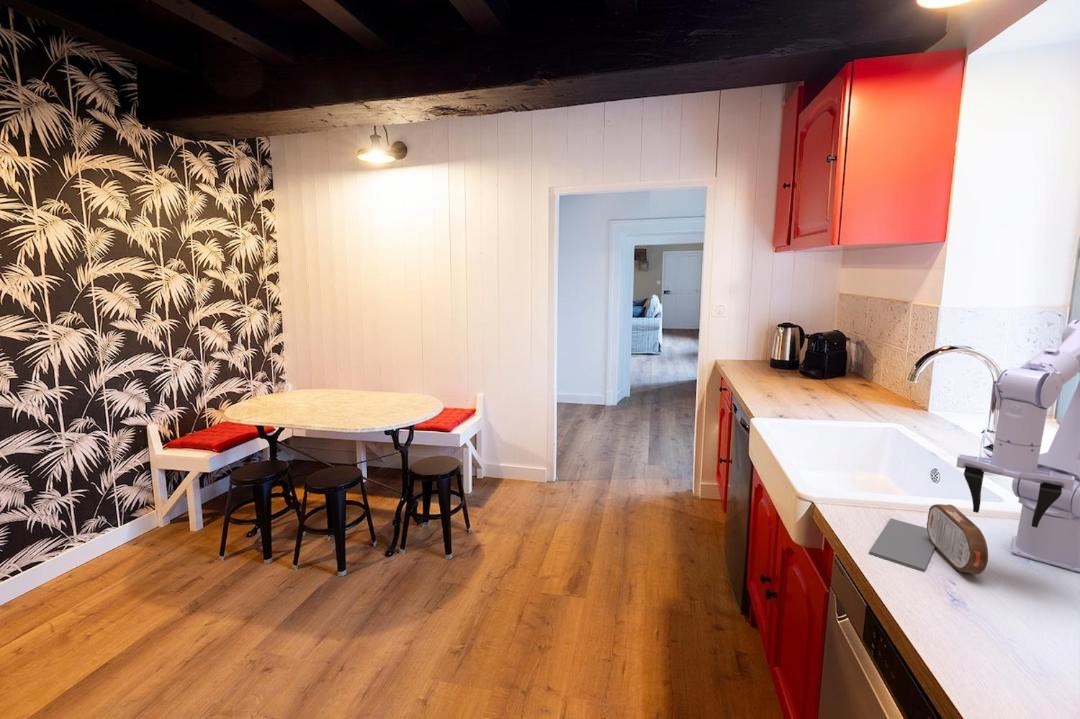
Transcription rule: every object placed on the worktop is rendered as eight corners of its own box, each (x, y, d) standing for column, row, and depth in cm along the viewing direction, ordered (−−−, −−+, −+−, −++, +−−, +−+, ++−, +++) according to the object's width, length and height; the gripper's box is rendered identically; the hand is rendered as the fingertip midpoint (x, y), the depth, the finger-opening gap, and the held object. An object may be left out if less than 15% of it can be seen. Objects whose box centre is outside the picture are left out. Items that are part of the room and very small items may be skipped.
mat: (940, 534, 105) (940, 532, 105) (924, 571, 92) (924, 569, 92) (890, 520, 111) (890, 518, 111) (868, 553, 98) (869, 551, 98)
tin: (983, 584, 89) (996, 539, 87) (962, 581, 89) (974, 536, 87) (937, 536, 103) (947, 497, 101) (919, 534, 104) (928, 494, 102)
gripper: (959, 436, 90) (947, 511, 92) (1080, 457, 80) (1064, 541, 82) (964, 427, 95) (953, 499, 97) (1079, 446, 85) (1064, 525, 87)
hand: (1004, 517), depth 90 cm, fingers open, 7 cm apart
